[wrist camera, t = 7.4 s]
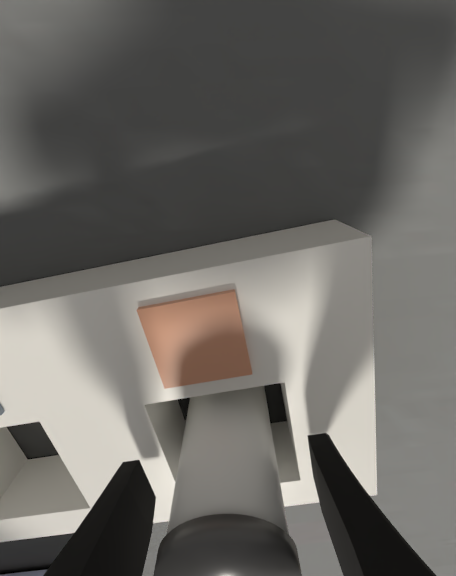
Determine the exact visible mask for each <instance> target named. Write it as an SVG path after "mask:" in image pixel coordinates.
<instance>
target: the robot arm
mask: <svg viewBox="0 0 456 576" xmlns="http://www.w3.org/2000/svg"><path fill="white" fill-rule="evenodd" d="M307 436H308V443H309V451H310V458H311V465H312V472H313V478H314V482H315V486H316V490H317V494H318V498H319V502H320V506H321V510H322V513H323V516H324V519H325V522H326V525H327V528H328V531H329V534H330V537H331V540H332V543H333V546H334V549H335V552H336V555H337V558H338V560H339V563H340V566H341V569H342V572H343V575H344V576H436V575H435V574H434V573H433V571H432V570H431V569H430V568H429V567H428V566H427V565H426V564H425V562H424V561H423V560H422V559H421V558H420V557H419V556H418V555H417V553H416V552H415V551H414V550H413V549H412V548H411V547H410V545H409V544H408V543H407V542H406V541H405V539H404V538H403V537H402V536H401V535H400V533H399V532H398V531H397V530H396V529H395V527H394V526H393V525H392V524H391V523H390V521H389V520H388V519H387V518H386V516H385V515H384V514H383V513H382V511H381V510H380V509H379V508H378V506H377V505H376V504H375V502H374V501H373V500H372V498H371V497H370V496H369V494H368V493H367V492H366V490H365V489H364V488H363V486H362V485H361V484H360V482H359V481H358V480H357V478H356V477H355V475H354V474H353V472H352V471H351V470H350V468H349V467H348V465H347V464H346V462H345V461H344V459H343V458H342V456H341V455H340V453H339V451H338V450H337V448H336V446H335V445H334V443H333V441H332V440H331V438H330V436H329V435H328V434H327V433H321V434H314V435H307ZM155 502H156V496H155V494H154V492H153V489H152V487H151V485H150V483H149V480H148V478H147V476H146V474H145V472H144V469H143V467H142V465H141V463H140V460H134V461H127V462H123V463H122V464H121V465H120V467H119V468H118V470H117V471H116V473H115V474H114V476H113V477H112V479H111V480H110V482H109V483H108V485H107V486H106V488H105V489H104V491H103V492H102V494H101V495H100V497H99V498H98V500H97V501H96V503H95V504H94V505H93V507H92V508H91V510H90V511H89V513H88V514H87V516H86V517H85V519H84V520H83V521H82V523H81V524H80V526H79V527H78V529H77V530H76V532H75V533H74V534H73V536H72V537H71V539H70V540H69V541H68V543H67V544H66V545H65V547H64V548H63V550H62V551H61V552H60V554H59V555H58V556H57V558H56V559H55V560H54V562H53V563H52V564H51V566H50V567H49V568H48V569H45V570H37V571H28V572H19V573H11V574H2V575H0V576H142V573H143V568H144V564H145V560H146V555H147V551H148V547H149V542H150V537H151V533H152V526H153V519H154V511H155Z"/></svg>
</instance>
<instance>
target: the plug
mask: <svg viewBox="0 0 456 576" xmlns="http://www.w3.org/2000/svg"><path fill="white" fill-rule="evenodd" d="M154 576H302V574H301V569H300V563H299V558H298V552H297V548H296V545H295V543H294V541H293V539H292V538H291V537H290V536H289V532H288V526H287V520H286V514H285V508H284V502H283V496H282V490H281V484H280V478H279V472H278V466H277V460H276V454H275V448H274V442H273V436H272V430H271V424H270V418H269V412H268V406H267V400H266V394H265V388H264V386H259V387H252V388H246V389H240V390H234V391H227V392H221V393H215V394H208V395H202V396H196V397H190V401H189V407H188V412H187V418H186V424H185V430H184V436H183V442H182V447H181V453H180V459H179V465H178V471H177V477H176V483H175V488H174V494H173V500H172V506H171V512H170V518H169V523H168V529H167V535H166V536H165V537H164V538H163V540H162V542H161V543H160V546H159V549H158V554H157V559H156V565H155V570H154Z"/></svg>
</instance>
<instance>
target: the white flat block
mask: <svg viewBox="0 0 456 576" xmlns="http://www.w3.org/2000/svg"><path fill="white" fill-rule="evenodd" d="M277 383H281V389H282V395H283V401H284V406H285V412H286V418H287V421H283V422H277V423H270V424H271V430H272V436H273V442H274V448H275V454H276V460H277V466H278V472H279V478H280V484H281V490H282V496H283V502H284V507H285V506H293V505H301V504H309V503H317V502H319V498H318V494H317V490H316V486H315V482H314V478H313V472H312V465H311V458H310V451H309V443H308V436H307V435H314V434H321V433H327V434H328V435H329V436H330V438H331V440H332V441H333V443H334V445H335V446H336V448H337V450H338V451H339V453H340V455H341V456H342V458H343V459H344V461H345V462H346V464H347V465H348V467H349V468H350V470H351V471H352V472H353V474H354V475H355V477H356V478H357V480H358V481H359V482H360V484H361V485H362V486H363V488H364V489H365V490H366V492H367V493H368V494H369V496H373V495H377V469H376V421H375V373H374V326H373V278H372V236H370V235H368V234H366V233H364V232H362V231H359V230H357V229H355V228H353V227H351V226H348V225H346V224H344V223H342V222H340V221H337V220H335V219H334V220H329V221H325V222H320V223H315V224H310V225H305V226H300V227H295V228H290V229H285V230H280V231H275V232H270V233H265V234H260V235H255V236H250V237H245V238H240V239H235V240H230V241H225V242H220V243H215V244H210V245H205V246H201V247H196V248H191V249H186V250H181V251H176V252H171V253H166V254H161V255H156V256H151V257H146V258H141V259H136V260H131V261H126V262H121V263H116V264H111V265H106V266H101V267H96V268H91V269H86V270H81V271H77V272H72V273H67V274H62V275H57V276H52V277H47V278H42V279H37V280H32V281H27V282H22V283H17V284H12V285H7V286H2V287H0V542H6V541H14V540H22V539H30V538H38V537H46V536H54V535H62V534H70V533H75V532H76V530H77V529H78V527H79V526H80V524H81V523H82V521H83V520H84V519H85V517H86V516H87V514H88V513H89V511H90V510H91V508H92V507H93V505H94V504H95V503H96V501H97V500H98V498H99V497H100V495H101V494H102V492H103V491H104V489H105V488H106V486H107V485H108V483H109V482H110V480H111V479H112V477H113V476H114V474H115V473H116V471H117V470H118V468H119V467H120V465H121V464H122V463H123V462H127V461H134V460H140V463H141V465H142V467H143V469H144V472H145V474H146V476H147V478H148V480H149V483H150V485H151V487H152V489H153V492H154V494H155V496H156V502H155V511H154V519H153V523H157V522H165V521H169V518H170V512H171V506H172V500H173V494H174V488H175V483H176V477H177V471H178V465H179V459H180V453H181V447H182V442H183V436H184V430H185V424H186V422H185V420H184V417H183V414H182V411H181V408H180V405H179V402H178V399H183V398H190V397H196V396H202V395H208V394H215V393H221V392H227V391H234V390H240V389H246V388H252V387H259V386H265V385H271V384H277ZM33 422H40V423H41V425H42V427H43V428H44V430H45V432H46V434H47V435H48V437H49V439H50V440H51V442H52V444H53V445H54V447H55V449H56V450H57V452H58V454H59V455H55V456H48V457H42V458H35V459H27V458H26V456H25V455H24V453H23V451H22V450H21V448H20V447H19V445H18V444H17V442H16V441H15V439H14V438H13V436H12V435H11V433H10V432H9V430H8V428H7V427H8V426H14V425H20V424H27V423H33Z"/></svg>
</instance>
